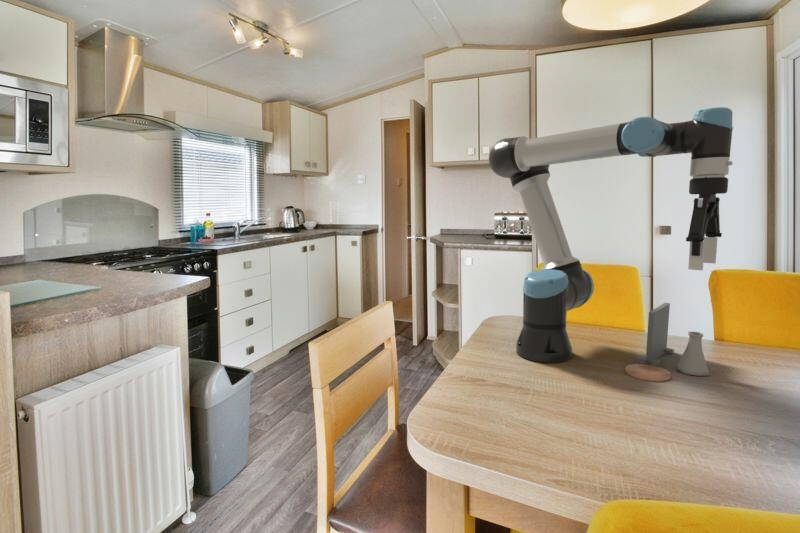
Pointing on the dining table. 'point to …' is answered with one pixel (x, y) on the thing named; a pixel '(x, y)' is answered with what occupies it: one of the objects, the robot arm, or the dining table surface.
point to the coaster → (648, 372)
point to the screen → (657, 335)
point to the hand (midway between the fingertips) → (702, 266)
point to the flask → (693, 357)
